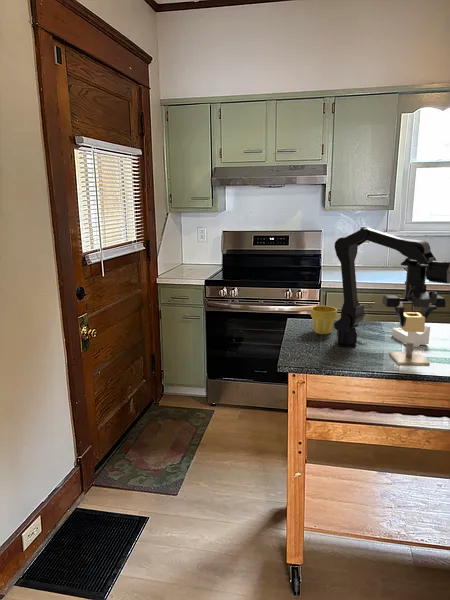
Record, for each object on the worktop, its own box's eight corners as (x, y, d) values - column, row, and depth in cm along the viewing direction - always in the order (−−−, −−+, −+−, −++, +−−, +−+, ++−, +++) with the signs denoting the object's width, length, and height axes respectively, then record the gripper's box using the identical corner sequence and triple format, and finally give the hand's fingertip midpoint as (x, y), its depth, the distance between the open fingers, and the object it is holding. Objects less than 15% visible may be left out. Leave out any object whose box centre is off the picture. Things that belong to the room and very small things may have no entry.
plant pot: (338, 335, 177) (340, 311, 174) (312, 335, 177) (313, 311, 175) (332, 328, 187) (334, 305, 185) (308, 328, 187) (308, 305, 185)
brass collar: (405, 331, 146) (406, 317, 145) (399, 326, 152) (400, 312, 151) (423, 332, 146) (425, 317, 145) (417, 326, 152) (418, 312, 151)
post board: (398, 364, 147) (399, 347, 145) (389, 354, 156) (390, 338, 155) (429, 365, 146) (431, 348, 145) (418, 354, 156) (420, 338, 154)
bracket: (428, 346, 165) (430, 326, 163) (410, 347, 164) (412, 327, 162) (408, 335, 177) (410, 317, 176) (391, 336, 176) (393, 318, 174)
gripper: (393, 284, 138) (390, 333, 141) (456, 284, 137) (451, 334, 140) (383, 278, 149) (380, 323, 152) (441, 278, 148) (436, 324, 151)
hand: (411, 326), depth 149 cm, fingers closed on brass collar, 6 cm apart
